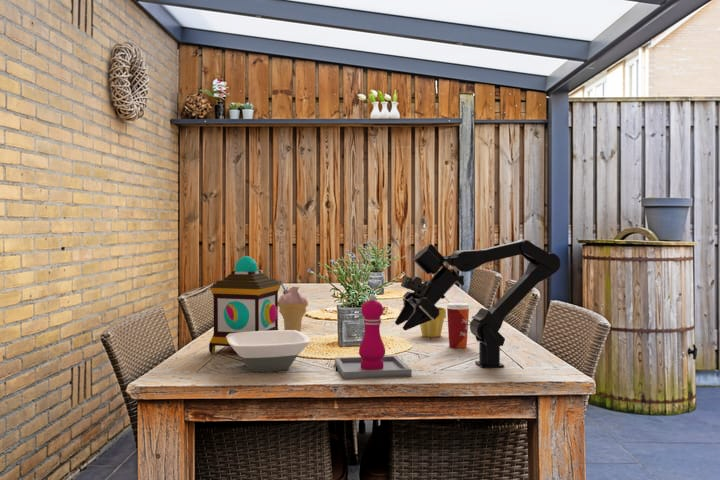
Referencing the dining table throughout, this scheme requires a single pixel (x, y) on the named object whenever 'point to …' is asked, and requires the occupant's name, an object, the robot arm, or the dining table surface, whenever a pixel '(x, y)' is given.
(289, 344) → the bowl
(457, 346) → the paper cup
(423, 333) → the plant pot
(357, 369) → the slate tray
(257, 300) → the decorative lantern
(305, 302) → the ice cream cone
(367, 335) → the pepper mill
